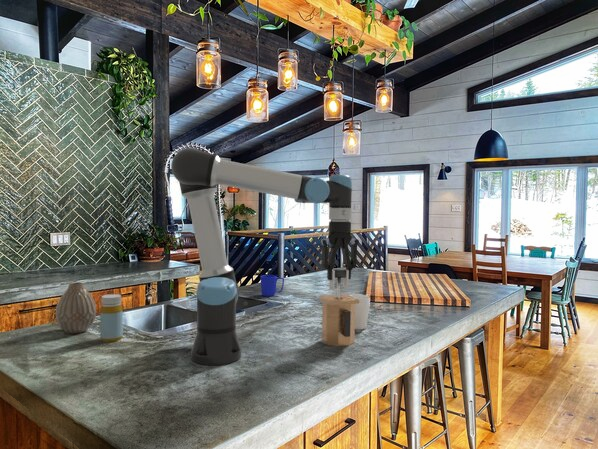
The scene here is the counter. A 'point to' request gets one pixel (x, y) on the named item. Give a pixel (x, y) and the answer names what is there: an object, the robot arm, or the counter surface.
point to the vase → (75, 309)
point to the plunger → (339, 280)
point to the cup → (361, 310)
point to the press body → (338, 319)
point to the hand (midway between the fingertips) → (338, 288)
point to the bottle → (111, 318)
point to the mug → (269, 285)
